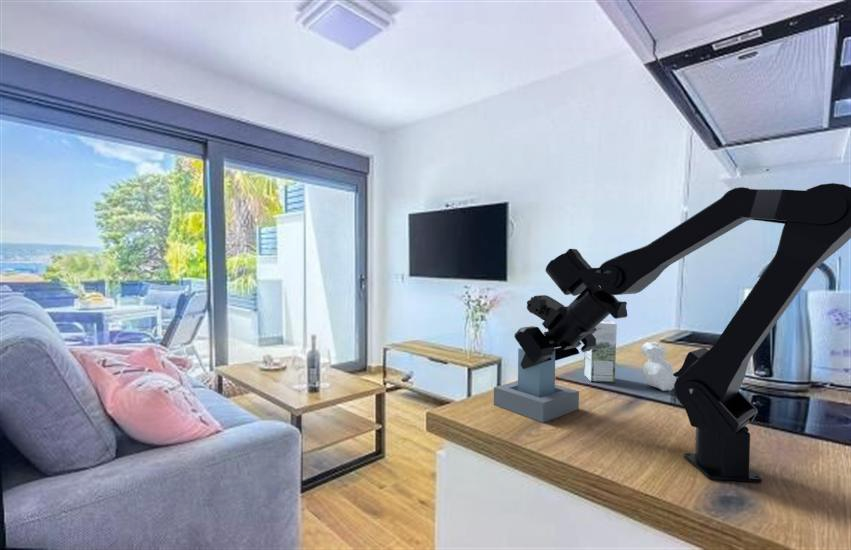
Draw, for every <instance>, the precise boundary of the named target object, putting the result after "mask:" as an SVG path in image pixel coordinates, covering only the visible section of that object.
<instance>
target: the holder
mask: <svg viewBox="0 0 851 550" xmlns="http://www.w3.org/2000/svg"><path fill="white" fill-rule="evenodd" d="M493 405H494V406H495V407H496V406H497V407H498V408H499V407H500V408H501V409H504V410H506V411H507V410H508V411H510V412H512V413H516V414H518V415H520V416H524V417H526V418H529V419H532V420H535V421H537V422H539V423H543V424H545V423H546V422H548V421H551V420H554V419H556V418H559V417H561V416H562V417H563V416H564V415H566V414H570V413H572V412H574V411H577V410H579V406H580V390H576V389H573V388H570V387H565V386H562V385H558V384H555V393H554V394H551V395H548V396H545V397H542V398H539V397H536V396H533V395H530V394H527V393H523V392H520V391H518V380H517V381H512V382H509V383H505V384H501V385H500V384H499V385H497V386H494V387H493Z"/></svg>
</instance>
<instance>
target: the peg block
mask: <svg viewBox="0 0 851 550" xmlns="http://www.w3.org/2000/svg"><path fill="white" fill-rule="evenodd" d="M517 352H518V355H517V381H518V391H520V392H523V393H527V394H530V395H533V396H536V397H539V398H542V397H545V396H548V395H551V394H554V393H555V385H556V361H555V350H554V352H553V355H552V356H551V357H550V358H551V359H552V360H550V361H547V362H544V363H541V364H538V365H535V366H532V367H529V368H526V369H523V368H522V367H521V365H520V364H521V362H522V359H523V357H524V355H525V352H524V350H523V349H522V347H518V351H517Z"/></svg>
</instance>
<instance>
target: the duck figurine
mask: <svg viewBox="0 0 851 550" xmlns="http://www.w3.org/2000/svg"><path fill="white" fill-rule="evenodd" d="M640 351H641V354H642V355H643V356H647V357H648V359H647V361H646V362H645V363H643V367H642V368H643V369H642V370H643V371H642V377H643V379H644V381H645V383H646V384H647V385H648V386H650V387H654V388H657V389H660V390H661V391H663V392H664V391H669V392H671V391H672V390H674V384H675V381H676V379H677V377H676V376H673V374H674V373H675V371H674V368H673V366H672V364H671V363H670V362H669V361H668V360H666V359H665V356H666V353H667V349H666V347H663V345H660V343H657V342H656V341H652V342H648V341H646V342H645V343H644V344H643V345H642V346H641V347H640Z"/></svg>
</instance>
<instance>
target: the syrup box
mask: <svg viewBox="0 0 851 550" xmlns="http://www.w3.org/2000/svg"><path fill="white" fill-rule="evenodd" d="M595 328H596V329H597V331H595V332H594V333H593V336H594V337H595V338H596V346H594V347H593V348H592V349H591V350H590V351H586V352H584V357H583V358H584V359H583V360H584V364H583V376H584V377H585V376H586V377H587V378H588V379H587V378H586V377H585V378H586V379H587V380H588V381H590V382H591V381H594V383H595V382H596V383H615V381H616V357H617V356H616V355H617V329H618V325H617V323H615V322H614V321H613V320H610V319H609V320H608V319H607V320H606V319H604V320H603V321H601V322H600V323H599V324H598V325H597V326H596V327H595Z"/></svg>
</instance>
